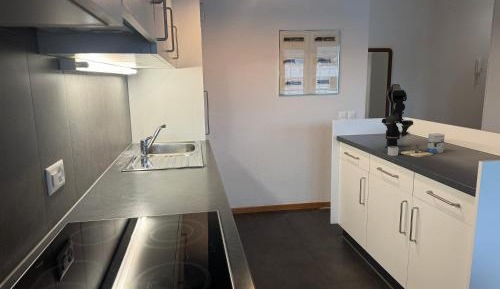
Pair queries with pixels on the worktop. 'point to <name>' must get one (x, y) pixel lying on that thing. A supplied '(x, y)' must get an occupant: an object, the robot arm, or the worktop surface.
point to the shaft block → (416, 152)
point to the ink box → (435, 143)
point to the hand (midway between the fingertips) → (396, 135)
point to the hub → (393, 150)
